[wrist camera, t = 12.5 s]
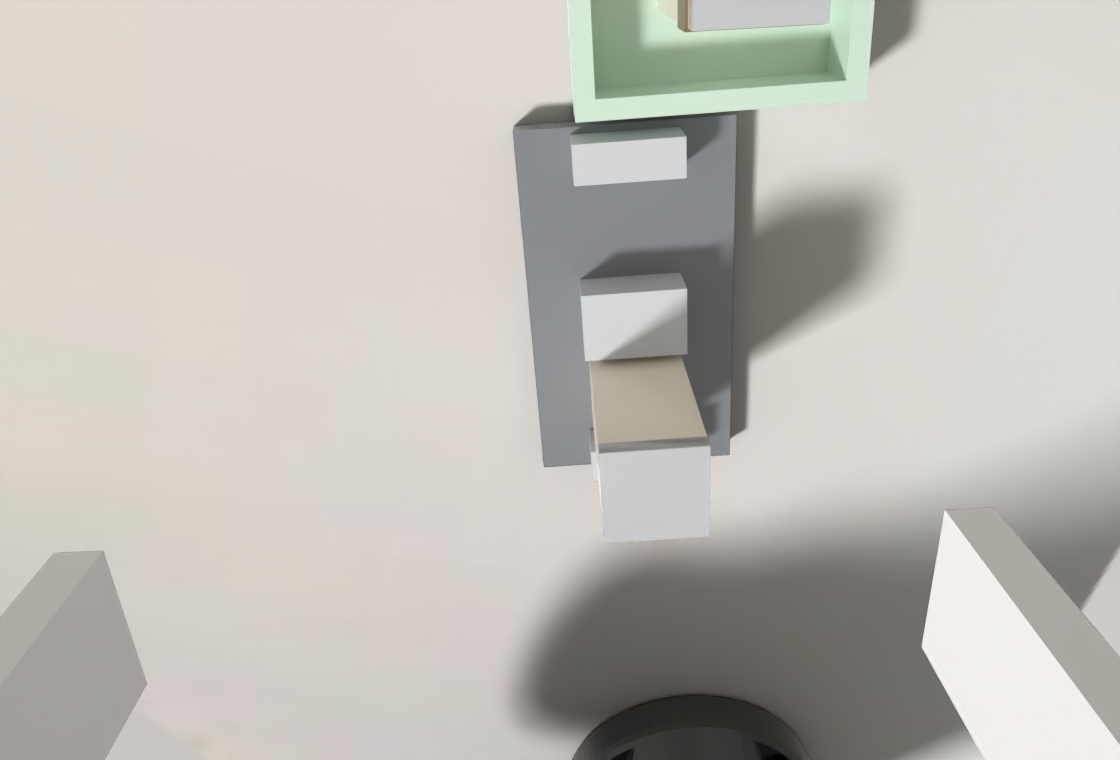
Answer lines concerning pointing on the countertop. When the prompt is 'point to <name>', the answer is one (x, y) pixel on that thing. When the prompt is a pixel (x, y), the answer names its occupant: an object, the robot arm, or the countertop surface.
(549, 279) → the block
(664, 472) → the block
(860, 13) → the tray
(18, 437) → the countertop surface
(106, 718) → the robot arm
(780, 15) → the block
